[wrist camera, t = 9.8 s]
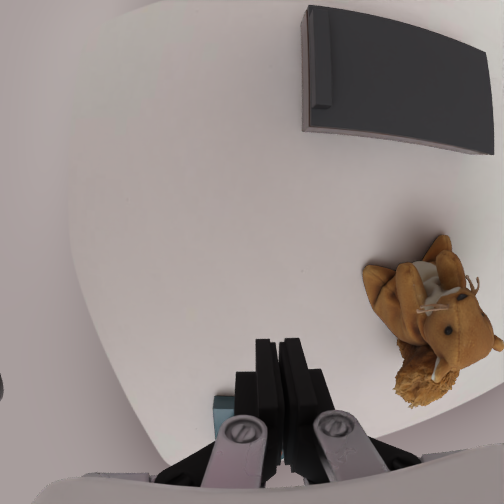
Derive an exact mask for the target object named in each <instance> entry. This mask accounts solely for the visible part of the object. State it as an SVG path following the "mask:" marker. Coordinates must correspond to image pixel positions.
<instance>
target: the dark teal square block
mask: <svg viewBox="0 0 504 504" xmlns="http://www.w3.org/2000/svg"><path fill="white" fill-rule="evenodd" d="M234 401H235V397H233V396H214V403H213V418H214V429H215V440H216V438H217V435H218V432H219V429H220V427H221V425H222V423H223V422H224V421H226V420H227V419H229V418H231V417H234ZM283 458H284V454H283V446H282V455H281V459H283Z"/></svg>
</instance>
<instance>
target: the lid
mask: <svg viewBox="0 0 504 504" xmlns="http://www.w3.org/2000/svg"><path fill="white" fill-rule="evenodd" d="M307 10H308V32H309V64H310V126H313V127H326V128H337V129H348V130H357V131H366V132H374V133H381V134H389V135H395V136H402V137H408V138H414V139H420V140H426V141H431V142H436V143H441V144H446V145H451V146H456V147H460V148H465V149H469V150H473V151H477V152H482V153H485V154H489V155H494V121H493V106H492V94H491V85H490V77H489V69H488V63H487V56H486V52H484V51H481V50H479V49H477V48H474V47H472V46H470V45H467V44H465V43H462V42H460V41H457V40H455V39H452V38H449V37H447V36H444V35H441V34H438V33H435V32H432V31H429V30H426V29H423V28H420V27H417V26H413V25H410V24H406V23H403V22H399V21H395V20H391V19H387V18H383V17H379V16H374V15H370V14H365V13H360V12H355V11H349V10H343V9H337V8H330V7H323V6H315V5H308V8H307Z"/></svg>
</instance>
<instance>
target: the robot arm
mask: <svg viewBox="0 0 504 504" xmlns="http://www.w3.org/2000/svg"><path fill="white" fill-rule="evenodd" d="M282 446H283V454H284V462H285V465H290V466H291V472H292V473H294V472H296V473H297V474H299V475H301V476H303V477H304V479H303V480H304V485H305V486H295V487H281V488H265V485H266V481H267V480H269V479H270V478H271V477H272V476H274V475H275V474H276V468H277V466H278V465H280V463H281V453H282ZM32 504H504V443H500V444H490V445H484V446H479V447H476V448H471V449H465V450H457V451H450V452H442V453H433V454H424V455H422V457H421V458H418V457H417V456H415V455H413V454H412V453H409V452H407V451H404V450H401V449H399V448H396V447H394V446H391V445H388V444H386V443H383V442H381V441H378V440H376V439H374V438H371V437H369V436H367V434H366V433H365V431H364V430H363V428H362V427H361V425H360V423H359V422H358V420H357V419H356V418H355V417H354V416H353V415H351V414H350V413H348V412H345V411H341V410H335V408H334V405H333V402H332V399H331V396H330V393H329V390H328V387H327V385H326V382H325V379H324V376H323V373H322V370H321V369H308V367H307V363H306V360H305V356H304V353H303V349H302V346H301V342H300V339H299V338H285V340H284V342H279V363H278V356H277V350H276V343H275V342H270V339H256V372H236V382H235V401H234V417H231V418H229V419H227V420H226V421H224V422H223V423H222V425H221V427H220V429H219V432H218V435H217V438H216V441H214V442H212V443H211V444H209V445H208V446H206V447H204V448H202V449H201V450H199V451H197V452H196V453H194V454H192V455H190V456H189V457H187V458H185V459H183V460H182V461H180V462H178V463H176V464H174V465H172V466H171V467H169V468H167V469H165V470H163V471H162V472H161V473H159V474H158V475H156V476H155V475H154V476H150V475H149V473H88V474H85V475H83V476H82V477H77V478H67V479H62V480H58V481H55V482H52V483H51V484H49V485H47V486H46V487H45V488H44V489H43V490H42V491H41V492H40V493H39V494H38V495H37V497H36V498H35V500H34V501H33V503H32Z"/></svg>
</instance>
